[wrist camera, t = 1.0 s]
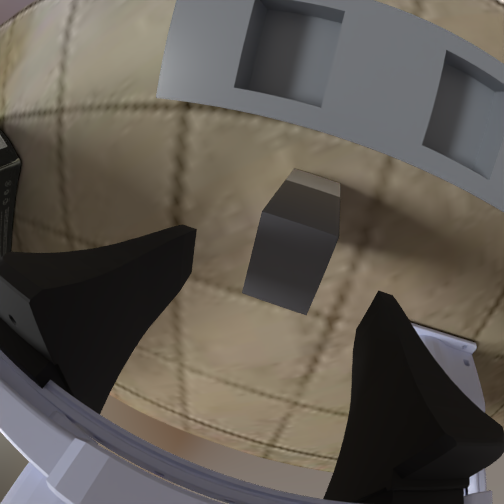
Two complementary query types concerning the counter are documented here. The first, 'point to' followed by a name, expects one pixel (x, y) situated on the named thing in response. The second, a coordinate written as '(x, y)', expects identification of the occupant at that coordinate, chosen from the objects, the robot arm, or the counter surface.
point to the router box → (7, 191)
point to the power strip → (347, 79)
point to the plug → (294, 242)
